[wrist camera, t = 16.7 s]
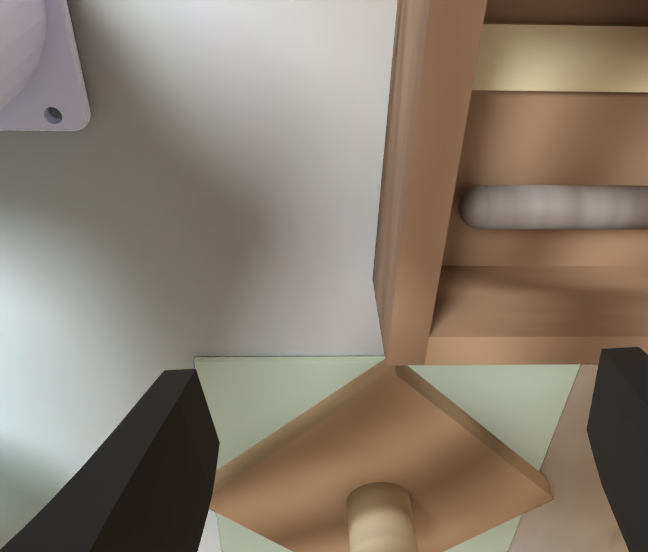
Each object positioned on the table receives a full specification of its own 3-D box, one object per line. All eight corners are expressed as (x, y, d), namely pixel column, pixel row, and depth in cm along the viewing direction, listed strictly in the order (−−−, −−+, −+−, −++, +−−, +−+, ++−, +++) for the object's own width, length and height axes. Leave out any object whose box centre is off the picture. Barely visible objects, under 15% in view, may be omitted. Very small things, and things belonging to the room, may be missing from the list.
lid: (200, 480, 29) (188, 565, 26) (392, 353, 25) (407, 437, 21) (363, 567, 35) (370, 647, 31) (546, 477, 30) (577, 559, 27)
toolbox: (372, 278, 23) (386, 365, 19) (406, -96, 15) (438, -72, 12) (685, 279, 23) (757, 363, 20) (860, -85, 16) (1023, -59, 12)
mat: (224, 560, 34) (223, 565, 34) (195, 357, 25) (194, 362, 25) (503, 555, 35) (504, 560, 35) (579, 355, 25) (582, 360, 25)
